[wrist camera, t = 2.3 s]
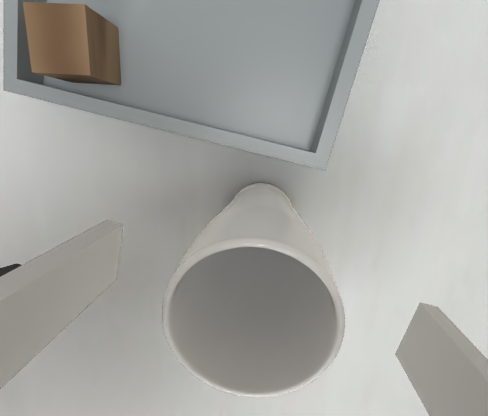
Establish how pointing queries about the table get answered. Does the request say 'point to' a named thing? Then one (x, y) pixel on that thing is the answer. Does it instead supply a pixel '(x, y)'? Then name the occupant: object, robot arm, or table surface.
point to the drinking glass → (254, 300)
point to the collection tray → (218, 70)
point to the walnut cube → (72, 43)
